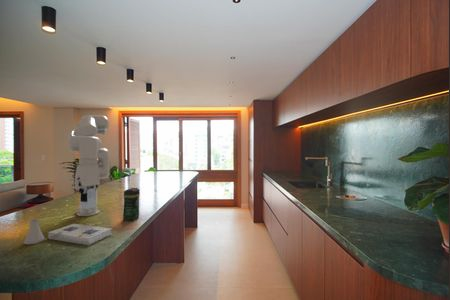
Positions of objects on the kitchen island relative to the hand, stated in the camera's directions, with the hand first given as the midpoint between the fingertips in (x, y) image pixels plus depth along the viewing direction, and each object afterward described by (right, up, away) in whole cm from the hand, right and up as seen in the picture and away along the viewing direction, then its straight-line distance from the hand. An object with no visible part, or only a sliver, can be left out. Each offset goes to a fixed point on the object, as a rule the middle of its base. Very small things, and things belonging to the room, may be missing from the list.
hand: (87, 200), depth 109 cm
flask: (-21, -18, -5) cm, 28 cm away
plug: (0, -3, 0) cm, 3 cm away
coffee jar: (+9, -18, +30) cm, 36 cm away
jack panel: (-4, -18, +1) cm, 18 cm away
